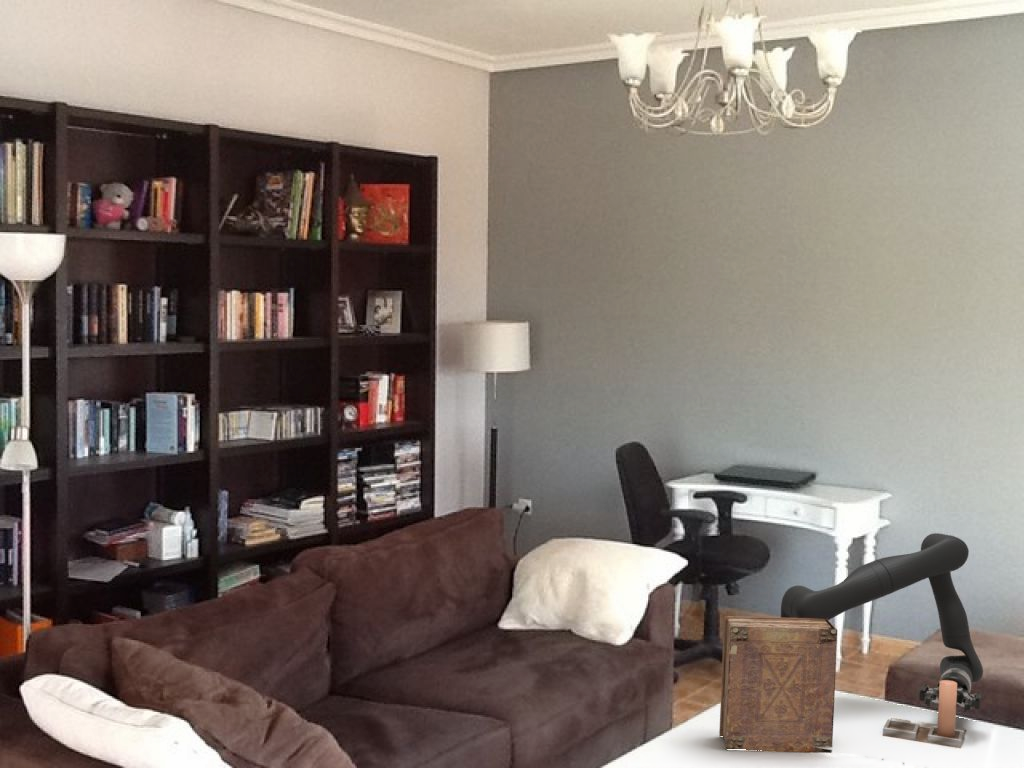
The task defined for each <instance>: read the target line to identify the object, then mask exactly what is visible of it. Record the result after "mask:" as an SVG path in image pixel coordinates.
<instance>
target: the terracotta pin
mask: <svg viewBox="0 0 1024 768" xmlns="http://www.w3.org/2000/svg"><path fill="white" fill-rule="evenodd" d="M939 681H940V680H939ZM938 699H939V703H938V712H937V725H938V729H937V736H942V737H948V738H954V739H955V728H956V721H957V720H956V719H957V718H956V716H957V706H956V700H957V683H956V682H954V681H950V680H941V681H940V686H939V698H938Z"/></svg>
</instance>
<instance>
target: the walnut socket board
mask: <svg viewBox="0 0 1024 768" xmlns="http://www.w3.org/2000/svg"><path fill="white" fill-rule="evenodd" d="M937 729H938V724H935V723H929V722H921V721H917V720H916V721H915V720H909V719H904V718H903V719H902V718H897V717H896V718H895V717H892V718H887V719H886V722H885V724H884V725H883V727H882V737H889V738H894V739H900V740H905V741H913V742H919V743H925V744H931V745H937V746H942V747H947V748H948V747H949V748H954V749H956V748H957V749H961V748H962V745H963V741H964V739H965V735H966V733H967V729H964V728H961V727H955V739H954V738H948V737H942V736H937Z"/></svg>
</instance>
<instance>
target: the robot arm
mask: <svg viewBox="0 0 1024 768" xmlns="http://www.w3.org/2000/svg"><path fill="white" fill-rule="evenodd" d="M968 558H969V547H968V545H967V543H966V542H965V541H963V540H962V538H959V537H957V536H955V535H950V534H945V533H944V534H943V533H938V532H937V533H936V532H935V533H930V534H928V535H926V536H925V537H924V539H923V540H922V542H921V545H920V550H919V551H916V552H911V553H906V554H899V555H898V554H897V555H891V556H886V557H882V558H878V559H875V560H873V561H870V562H867V563H864V564H862V565H860V566H858V567H856V568H855V569H854V570H853V571H852V572H851V573H849V575H848V576H846V577H845V579H844V580H842V581H840V583H838V584H836V585H834V586H831V587H828V588H824V589H820V590H815V591H814V590H812V589H811V588H808V587H806V586H803V585H794V586H791V587H789V588H788V589H786V591H785V592H784V594H783V596H782V599H781V604H780V618H815V619H828V620H829V621H830V620H831V619H833V618H835V617H837V616H839V615H840V614H842V613H845V612H847V611H849V610H852V609H854V608H858V607H860V606H863V605H865V604H867V603H870V602H873V601H876V600H878V599H880V598H884V597H886V596H889V595H890V594H893V593H895V592H898V591H901V590H903V589H905V588H907V587H909V586H912V585H914V584H917V583H918V582H919V583H920V582H921V581H923V580H926V579H928V580H929V583H930V587H931V590H932V594H933V597H934V601H935V604H936V609H937V613H938V614H937V615H938V619H939V626H940V630H941V631H940V632H941V638H942V643H943V645H944V646H945V648H949V649H953V650H958V651H961V652H962V654H964V655H962V654H961V655H947V656H945V657H943V658H942V659H941V660H940V665H939V671H940V674H941V677H940V679H939V680H938V683H937V685H936V687H933V688H932V687H931V688H930V686H929V684H926V683H923V684H922V686H921V687H920V689H919V691H918V700H919V701H920V702H921V701H922V702H923V701H924V704H925V705H926V707H931V705H932V703H934V704H939V686H940V681H941V680H950V681H954V682H956V683H957V700H956V707H958V706H960V707H961V708H963V712H965V713H968V712H970V711H971V710H972V709H973V708H975V709H976V710H981V706H982V704H981V703H982V692H980V691H977V692H975V693H973V694H972V693H971V691H972V683H978V682H980V680H981V679H982V678H983V675H984V668H983V664H982V662H981V660H980V657H979V656H978V654H977V652H976V650H975V647H974V644H973V642H972V638H971V634H970V633H971V632H970V627H969V620H968V616H967V613H966V612H967V611H966V610H965V608H964V605H963V603H962V600H961V598H960V596H959V595H958V593H957V590H956V588H955V584H954V582H953V579H952V574H951V572H956V571H957V570H959V569H960V568H961V567H963V566H964V565H965V563H966V562H967V561H968Z"/></svg>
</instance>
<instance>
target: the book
mask: <svg viewBox="0 0 1024 768" xmlns="http://www.w3.org/2000/svg"><path fill="white" fill-rule="evenodd" d="M723 620H724V621H723V639H722V640H723V641H722V642H723V643H722V661H721V663H722V664H721V684H720V685H721V690H720V692H721V693H720V712H719V714H720V715H719V733H718V734H719V735H718V736H719V737H720V736H723V737H724V738H723V739H724V742H725V750H726V749H746V750H757V751H756V752H764V751H776V753H781V752H782V753H814V754H815V753H816V754H817V753H818V754H820V753H822V754H823V753H824V754H825V753H827V754H832V752H833V750H832V749H828V748H833V736H834V735H833V734H834V717H835V696H836V695H835V690H836V671H837V669H836V667H837V647H838V646H837V644H838V629H837V628H836V627H835V625H834V624H833V623H832V622H831V621H830V620H828V619H815V618H781V617H776V616H775V617H771V616H770V617H769V616H767V617H766V616H736V615H733V616H732V615H726V616H724V617H723ZM758 750H759V751H758ZM760 750H762V751H760Z"/></svg>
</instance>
